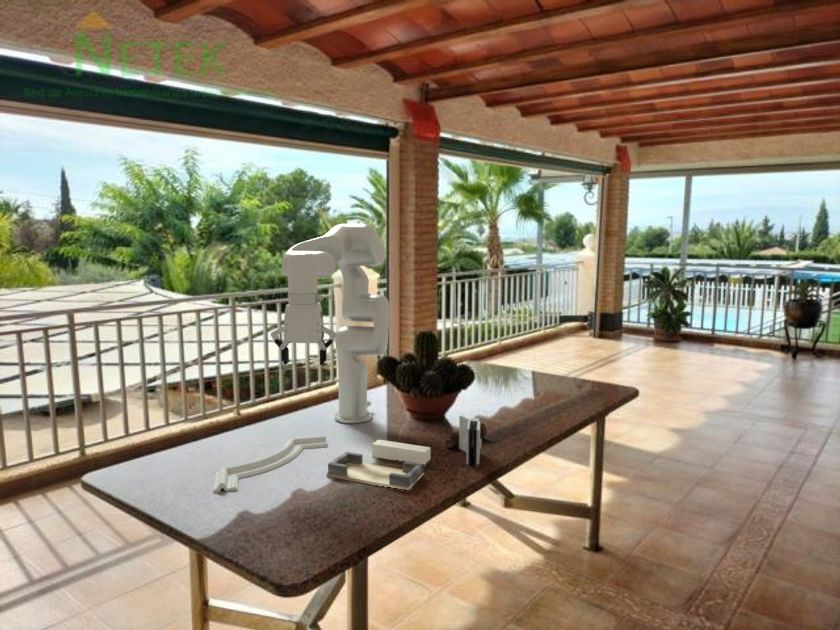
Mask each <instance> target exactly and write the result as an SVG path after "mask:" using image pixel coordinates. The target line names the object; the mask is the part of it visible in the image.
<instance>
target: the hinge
mask: <svg viewBox="0 0 840 630" xmlns="http://www.w3.org/2000/svg"><path fill="white" fill-rule="evenodd" d="M458 418H459V430H458V431H459V447H458V449H459V450H461V451H462V450H463V452H464V451H465V454H466V457H465V458H466V459H465V461H466V462H465V463H466V465H471V466H472V458H473V466H474V465H476V464H479V465H480V456H481V452H480V451H481V449H482V443H483V441H482V440H483V439H480V422H481V421H480V418H477V417H471V418H469V417H467V416H464V415H463V414H461V415H459V417H458ZM472 454H474V455H472ZM476 466H477V465H476Z"/></svg>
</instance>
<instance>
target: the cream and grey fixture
mask: <svg viewBox="0 0 840 630" xmlns="http://www.w3.org/2000/svg"><path fill="white" fill-rule="evenodd" d="M363 461H364V460H363V453H357V452H356V453H355V452H350V451H344V452H343V453H342V454H341V455H339V456H338V457H336V458H334V459H333V460H331V461H330V462H328V463H327V473H326V477H329V478H333V479H340V480H345V481H349V482H350V481H351V482H356V483H362V484H367V485H372V486H376V485H377V487H382V486H384V487H383V488H387V487H391V488H390V489H393V488H398V489H406V490H409V489H410V488H411V487H412V486H413V485H414V484H415V483H416V482H417V481H418V480H419V479H420V478H421V477H422V476H423V475H424V476H425V473H423V466H424V465H423V464H418V463H412V462H406V461H405V462H402V469H400V468H395V467H390V466H383V465H377V464H371V463H365V462H363ZM398 489H397V490H398ZM411 489H412V488H411ZM411 489H410V490H411ZM410 490H409V491H410Z"/></svg>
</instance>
